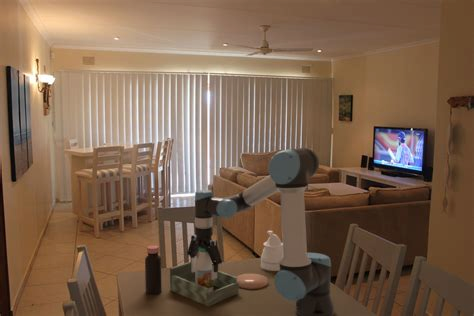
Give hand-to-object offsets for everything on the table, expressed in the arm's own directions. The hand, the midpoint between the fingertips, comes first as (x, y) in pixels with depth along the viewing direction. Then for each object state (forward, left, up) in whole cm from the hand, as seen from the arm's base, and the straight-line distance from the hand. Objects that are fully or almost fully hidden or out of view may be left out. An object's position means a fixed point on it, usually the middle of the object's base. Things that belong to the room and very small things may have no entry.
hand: (204, 275), depth 197 cm
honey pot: (-2, -46, -8) cm, 47 cm away
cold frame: (0, 0, -7) cm, 7 cm away
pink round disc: (-8, -22, -7) cm, 25 cm away
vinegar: (+16, +15, -8) cm, 23 cm away
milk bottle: (0, 0, -8) cm, 8 cm away
